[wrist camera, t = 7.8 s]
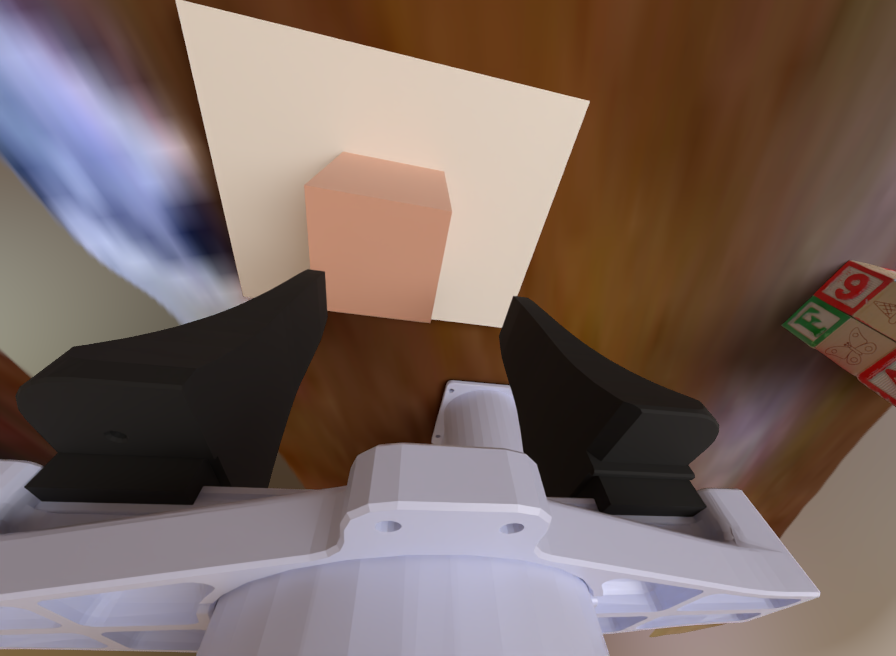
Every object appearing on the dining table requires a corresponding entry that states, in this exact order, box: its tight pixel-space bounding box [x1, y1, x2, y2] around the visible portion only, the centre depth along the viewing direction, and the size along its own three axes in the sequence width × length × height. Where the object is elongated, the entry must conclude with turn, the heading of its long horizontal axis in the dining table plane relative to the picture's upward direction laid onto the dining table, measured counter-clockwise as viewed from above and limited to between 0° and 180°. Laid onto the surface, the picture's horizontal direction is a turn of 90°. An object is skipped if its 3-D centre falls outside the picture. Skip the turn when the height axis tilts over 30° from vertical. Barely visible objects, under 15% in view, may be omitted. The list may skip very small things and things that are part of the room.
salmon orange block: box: [304, 152, 452, 323], centre depth 16 cm, size 5×5×7 cm
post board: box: [176, 0, 590, 328], centre depth 17 cm, size 14×18×7 cm
